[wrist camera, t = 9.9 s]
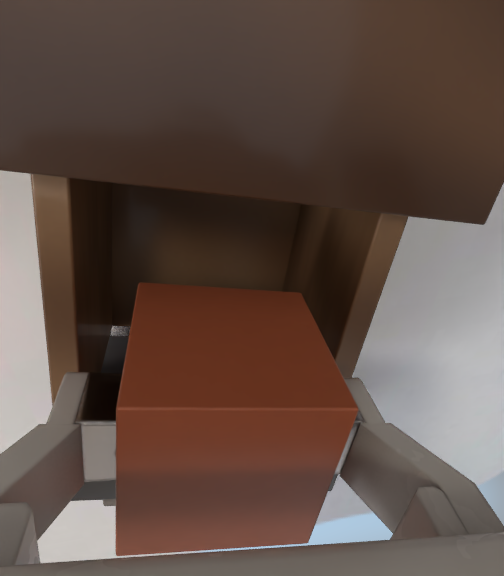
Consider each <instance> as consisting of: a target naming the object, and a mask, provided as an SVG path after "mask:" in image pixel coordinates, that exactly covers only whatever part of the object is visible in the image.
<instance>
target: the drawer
mask: <svg viewBox="0 0 504 576" xmlns="http://www.w3.org/2000/svg"><path fill="white" fill-rule="evenodd" d="M31 184H32V195H33V205H34V216H35V226H36V237H37V247H38V258H39V268H40V279H41V289H42V300H43V310H44V321H45V331H46V342H47V352H48V363H49V373H50V384H51V394H52V405H53V404H54V401H55V399H56V396H57V393H58V390H59V388H60V385H61V382H62V379H63V376H64V375H65V374H66V373H67V372H86V373H90V372H95V373H118V374H122V372H123V367H124V361H125V356H126V350H127V344H128V339H129V336H110V333H111V329H112V326H131V322H132V316H133V311H134V305H135V300H136V294H137V289H138V284H139V283H140V282H143V283H159V284H174V285H189V286H205V287H220V288H236V289H251V290H266V291H282V292H297V293H301V294H302V296H303V298H304V300H305V302H306V304H307V306H308V308H309V310H310V312H311V314H312V316H313V318H314V320H315V322H316V324H317V326H318V328H319V330H320V332H321V334H322V336H323V338H324V340H325V342H326V344H327V346H328V348H329V350H330V352H331V354H332V356H333V358H334V360H335V362H336V364H337V366H338V368H339V370H340V372H341V374H342V376H343V378H351V377H352V374H353V372H354V369H355V366H356V363H357V360H358V358H359V355H360V352H361V349H362V346H363V343H364V341H365V338H366V335H367V332H368V329H369V327H370V324H371V321H372V318H373V315H374V312H375V310H376V307H377V304H378V301H379V298H380V296H381V293H382V290H383V287H384V284H385V281H386V279H387V276H388V273H389V270H390V267H391V265H392V262H393V259H394V256H395V253H396V250H397V248H398V245H399V242H400V239H401V236H402V233H403V231H404V228H405V225H406V222H407V219H408V217H409V216H401V215H392V214H383V213H374V212H365V211H357V210H348V209H339V208H330V207H321V206H312V205H303V204H295V203H286V202H277V201H268V200H259V199H250V198H241V197H233V196H224V195H215V194H206V193H197V192H188V191H180V190H171V189H162V188H153V187H144V186H135V185H126V184H118V183H109V182H100V181H91V180H82V179H73V178H65V177H56V176H47V175H38V174H31ZM337 476H338V474H334V476H333V479H332V481H331V484H330V487H329V489H328V491H331V490H332V488H333V486H334V483H335V481H336V478H337ZM78 500H103V504H104V506H116V480H110V481H92V482H84V485H83V486H82V487H81V489H80V490H79V491H78V492H77V493H76V495H75V496H74V497H73V498H72V499H71V501H78Z"/></svg>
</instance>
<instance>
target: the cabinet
mask: <svg viewBox="0 0 504 576" xmlns="http://www.w3.org/2000/svg"><path fill="white" fill-rule="evenodd" d="M0 170H3V171H11V172H20V173H29V174H38V175H47V176H56V177H65V178H73V179H82V180H91V181H100V182H109V183H118V184H126V185H135V186H144V187H153V188H162V189H171V190H180V191H188V192H197V193H206V194H215V195H224V196H233V197H241V198H250V199H259V200H268V201H277V202H286V203H295V204H303V205H312V206H321V207H330V208H339V209H348V210H357V211H365V212H374V213H383V214H392V215H401V216H410V217H418V218H427V219H436V220H445V221H454V222H463V223H472V224H480V225H483V224H485V222H486V220H487V218H488V216H489V214H490V211H491V209H492V207H493V205H494V202H495V200H496V198H497V196H498V194H499V191H500V189H501V187H502V185H503V182H504V0H0Z"/></svg>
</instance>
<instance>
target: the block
mask: <svg viewBox="0 0 504 576" xmlns="http://www.w3.org/2000/svg"><path fill="white" fill-rule="evenodd" d="M358 411H359V409H358V406H357V404H356V402H355V400H354V398H353V396H352V394H351V392H350V390H349V388H348V386H347V384H346V382H345V380H344V378H343V376H342V374H341V372H340V370H339V368H338V366H337V364H336V362H335V360H334V358H333V356H332V354H331V352H330V350H329V348H328V346H327V344H326V342H325V340H324V338H323V336H322V334H321V332H320V330H319V328H318V326H317V324H316V322H315V320H314V318H313V316H312V314H311V312H310V310H309V308H308V306H307V304H306V302H305V300H304V298H303V296H302V294H301V293H297V292H282V291H266V290H251V289H236V288H220V287H205V286H189V285H174V284H159V283H143V282H140V283H139V284H138V289H137V294H136V300H135V305H134V311H133V316H132V322H131V328H130V333H129V339H128V344H127V350H126V356H125V361H124V367H123V372H122V378H121V383H120V389H119V395H118V400H117V406H116V555H117V556H125V555H140V554H154V553H169V552H184V551H199V550H214V549H227V548H228V549H229V548H242V547H243V548H244V547H258V546H273V545H287V544H303V543H308V541H309V539H310V536H311V534H312V531H313V528H314V526H315V523H316V521H317V518H318V515H319V513H320V510H321V507H322V505H323V502H324V500H325V497H326V494H327V492H328V489H329V487H330V484H331V481H332V479H333V476H334V474H335V471H336V468H337V466H338V463H339V460H340V458H341V455H342V453H343V450H344V447H345V445H346V442H347V440H348V437H349V434H350V432H351V429H352V427H353V424H354V421H355V419H356V416H357V413H358Z"/></svg>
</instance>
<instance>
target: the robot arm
mask: <svg viewBox="0 0 504 576" xmlns="http://www.w3.org/2000/svg"><path fill="white" fill-rule="evenodd" d="M121 378H122V374H118V373H95V372H90V373H86V372H67V373H66V374H65V375H64V376H63V379H62V382H61V385H60V388H59V390H58V393H57V396H56V399H55V401H54V404H53V407H52V410H51V412H50V415H49V418H48V421H47V423H46V424H39V425H38V426H36V427H35V428H34V429H32V430H31V431H30V432H29V433H27V434H26V435H25V436H23V437H22V438H21V439H19V440H18V441H17V442H16V443H14V444H13V445H12V446H10V447H9V448H8V449H7V450H5V451H4V452H3V453H1V454H0V576H504V526H503V524H502V523H501V521H500V520H499V518H498V517H497V515H496V514H495V512H494V511H493V509H492V508H491V507H490V505H489V504H488V502H487V501H486V499H485V498H484V496H483V495H482V493H481V492H480V491H479V489H478V487H477V486H476V484H475V483H473V482H472V481H471V480H469V479H468V478H466V477H465V476H464V475H462V474H461V473H459V472H458V471H457V470H455V469H454V468H452V467H451V466H450V465H448V464H447V463H445V462H444V461H443V460H441V459H440V458H439V457H437V456H436V455H434V454H433V453H432V452H430V451H429V450H427V449H426V448H425V447H423V446H422V445H420V444H419V443H418V442H416V441H415V440H413V439H412V438H411V437H409V436H408V435H406V434H405V433H404V432H402V431H401V430H400V429H398V428H397V427H395V426H394V425H393V424H391V423H385V421H384V420H383V418H382V416H381V414H380V412H379V411H378V409H377V407H376V405H375V404H374V402H373V400H372V398H371V396H370V395H369V393H368V391H367V389H366V387H365V386H364V384H363V382H362V381H361V380H360V379H359V378H344V380H345V382H346V384H347V386H348V388H349V390H350V392H351V394H352V396H353V398H354V400H355V402H356V404H357V406H358V409H359V411H358V413H357V416H356V419H355V421H354V424H353V427H352V429H351V432H350V434H349V437H348V440H347V442H346V445H345V447H344V450H343V453H342V455H341V458H340V460H339V463H338V466H337V468H336V471H335V474H340V476H341V478H342V479H343V480H344V481H345V482H346V483H347V484H348V485H349V486H350V487H351V488H352V489H353V491H354V492H355V493H356V494H357V495H358V496H359V497H360V498H361V499H362V500H363V501H364V502H365V504H366V505H367V506H368V507H369V508H370V509H371V510H372V511H373V512H374V513H375V514H376V515H377V517H378V518H379V519H380V520H381V521H382V522H383V523H384V524H385V525H386V526H387V527H388V528H389V530H390V531H391V532H392V533H393V535H392V537H391V539H390V540H381V541H368V542H352V543H337V544H323V545H308V546H294V547H280V548H265V549H249V550H234V551H219V552H204V553H189V554H174V555H159V556H144V557H129V558H114V559H100V560H85V561H70V562H55V563H40V558H39V551H38V544H37V540H38V539H39V538H40V537H41V536H42V534H43V533H44V532H45V531H46V530H47V528H48V527H49V526H50V525H51V524H52V522H53V521H54V520H55V519H56V518H57V516H58V515H59V514H60V513H61V512H62V510H63V509H64V508H65V507H66V505H67V504H68V503H69V502H70V501H71V499H72V498H73V497H74V496H75V495H76V493H77V492H78V491H79V490H80V489H81V487H82V486H83V485H84V482H92V481H110V480H116V406H117V400H118V395H119V389H120V383H121Z"/></svg>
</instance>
